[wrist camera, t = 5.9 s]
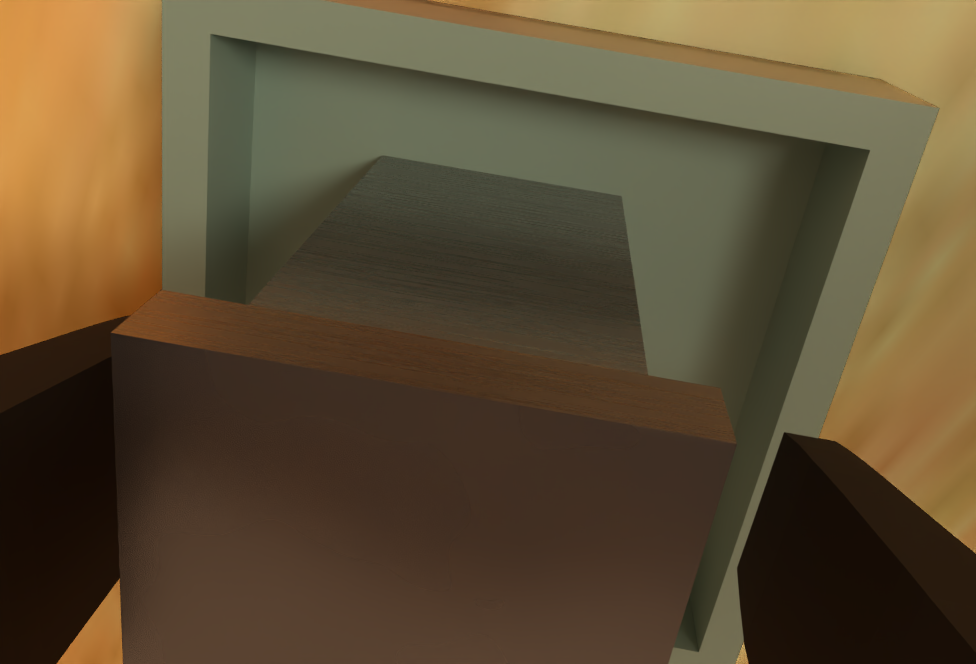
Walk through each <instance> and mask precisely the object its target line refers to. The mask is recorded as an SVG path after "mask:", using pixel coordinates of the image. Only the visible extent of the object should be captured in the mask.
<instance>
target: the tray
mask: <svg viewBox="0 0 976 664" xmlns="http://www.w3.org/2000/svg"><path fill="white" fill-rule="evenodd" d="M938 111H939V108H938V107H936V106H934V105H932V104H930V103H928V102H926V101H924V100H922V99H920V98H918V97H916V96H914V95H912V94H910V93H908V92H906V91H904V90H902V89H900V88H898V87H896V86H893V85H891V84H889V83H887V82H885V81H883V80H881V79H876V78H870V77H864V76H859V75H853V74H847V73H841V72H836V71H830V70H824V69H818V68H813V67H807V66H801V65H795V64H790V63H784V62H778V61H772V60H767V59H761V58H755V57H749V56H744V55H738V54H732V53H727V52H721V51H715V50H709V49H704V48H698V47H692V46H686V45H681V44H675V43H669V42H663V41H658V40H652V39H646V38H640V37H635V36H629V35H623V34H617V33H612V32H606V31H600V30H595V29H589V28H583V27H577V26H572V25H566V24H560V23H554V22H549V21H543V20H537V19H531V18H526V17H520V16H514V15H508V14H503V13H497V12H491V11H486V10H480V9H474V8H468V7H463V6H457V5H451V4H445V3H440V2H434V1H428V0H162V290H166V291H172V292H178V293H183V294H189V295H195V296H200V297H206V298H212V299H217V300H223V301H229V302H235V303H240V304H246V305H248V304H249V303H250V302H251V301H252V300H253V299H254V298H255V297H256V296H257V294H258V293H259V292H260V291H261V290H262V289H263V288H264V287H265V286H266V284H267V283H268V282H269V281H270V280H271V279H272V278H273V277H274V276H275V274H276V273H277V272H278V271H279V270H280V269H281V268H282V267H283V266H284V264H285V263H286V262H287V261H288V260H289V259H290V258H291V257H292V255H293V254H294V253H295V252H296V251H297V250H298V249H299V248H300V247H301V245H302V244H303V243H304V242H305V241H306V240H307V239H308V238H309V237H310V235H311V234H312V233H313V232H314V231H315V230H316V229H317V228H318V227H319V225H320V224H321V223H322V222H323V221H324V220H325V219H326V218H327V217H328V215H329V214H330V213H331V212H332V211H333V210H334V209H335V208H336V207H337V205H338V204H339V203H340V202H341V201H342V200H343V199H344V198H345V197H346V195H347V194H348V193H349V192H350V191H351V190H352V189H353V188H354V186H355V185H356V184H357V183H358V182H359V181H360V180H361V179H362V178H363V176H364V175H365V174H366V173H367V172H368V171H369V170H370V169H371V168H372V166H373V165H374V164H375V163H376V162H377V161H378V160H379V159H380V158H381V156H382V155H384V156H390V157H396V158H402V159H407V160H413V161H419V162H425V163H431V164H437V165H443V166H448V167H454V168H460V169H466V170H472V171H478V172H484V173H490V174H495V175H501V176H507V177H513V178H519V179H525V180H531V181H536V182H542V183H548V184H554V185H560V186H566V187H572V188H578V189H583V190H589V191H595V192H601V193H607V194H613V195H619V196H622V201H623V208H624V215H625V222H626V228H627V235H628V242H629V249H630V255H631V262H632V269H633V276H634V283H635V289H636V296H637V303H638V310H639V316H640V323H641V330H642V337H643V343H644V350H645V357H646V364H647V370H648V375H650V376H655V377H661V378H667V379H672V380H678V381H684V382H689V383H695V384H701V385H706V386H712V387H718V388H720V389H721V392H722V395H723V399H724V402H725V405H726V409H727V412H728V415H729V419H730V422H731V425H732V429H733V432H734V435H735V439H736V442H737V446H736V449H735V452H734V455H733V459H732V462H731V465H730V468H729V471H728V475H727V478H726V481H725V484H724V487H723V491H722V494H721V497H720V500H719V503H718V507H717V510H716V513H715V516H714V519H713V523H712V526H711V529H710V532H709V535H708V539H707V542H706V545H705V548H704V551H703V555H702V558H701V561H700V564H699V567H698V570H697V574H696V577H695V580H694V583H693V586H692V590H691V593H690V596H689V599H688V602H687V606H686V609H685V612H684V615H683V618H682V622H681V625H680V628H679V631H678V634H677V638H676V641H675V644H674V647H673V650H672V654H671V657H670V660H669V663H668V664H735V663H736V661H737V658H738V655H739V652H740V650H741V647H742V644H743V642H744V637H743V629H742V620H741V611H740V600H739V588H738V576H737V566H738V563H739V560H740V558H741V555H742V552H743V549H744V546H745V543H746V540H747V537H748V534H749V532H750V529H751V526H752V523H753V520H754V517H755V514H756V511H757V509H758V506H759V503H760V500H761V497H762V494H763V491H764V488H765V486H766V483H767V480H768V477H769V474H770V471H771V468H772V465H773V462H774V460H775V457H776V454H777V451H778V448H779V445H780V442H781V439H782V437H783V434H784V432H787V433H792V434H798V435H803V436H809V437H814V438H819V435H820V432H821V429H822V427H823V424H824V421H825V419H826V416H827V413H828V410H829V408H830V405H831V402H832V399H833V397H834V394H835V391H836V389H837V386H838V383H839V380H840V378H841V375H842V372H843V370H844V367H845V364H846V361H847V359H848V356H849V353H850V351H851V348H852V345H853V342H854V340H855V337H856V334H857V331H858V329H859V326H860V323H861V321H862V318H863V315H864V312H865V310H866V307H867V304H868V302H869V299H870V296H871V293H872V291H873V288H874V285H875V283H876V280H877V277H878V274H879V272H880V269H881V266H882V263H883V261H884V258H885V255H886V253H887V250H888V247H889V244H890V242H891V239H892V236H893V234H894V231H895V228H896V225H897V223H898V220H899V217H900V215H901V212H902V209H903V206H904V204H905V201H906V198H907V195H908V193H909V190H910V187H911V185H912V182H913V179H914V176H915V174H916V171H917V168H918V166H919V163H920V160H921V157H922V155H923V152H924V149H925V147H926V144H927V141H928V138H929V136H930V133H931V130H932V127H933V125H934V122H935V119H936V117H937V114H938Z"/></svg>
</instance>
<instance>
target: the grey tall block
mask: <svg viewBox="0 0 976 664" xmlns="http://www.w3.org/2000/svg"><path fill="white" fill-rule="evenodd" d="M111 356H112V382H113V409H114V436H115V462H116V489H117V516H118V542H119V569H120V596H121V622H122V649H123V664H668V663H669V660H670V657H671V654H672V650H673V647H674V644H675V641H676V638H677V634H678V631H679V628H680V625H681V622H682V618H683V615H684V612H685V609H686V606H687V602H688V599H689V596H690V593H691V590H692V586H693V583H694V580H695V577H696V574H697V570H698V567H699V564H700V561H701V558H702V555H703V551H704V548H705V545H706V542H707V539H708V535H709V532H710V529H711V526H712V523H713V519H714V516H715V513H716V510H717V507H718V503H719V500H720V497H721V494H722V491H723V487H724V484H725V481H726V478H727V475H728V471H729V468H730V465H731V462H732V459H733V455H734V452H735V449H736V446H737V442H736V439H735V435H734V432H733V429H732V425H731V422H730V419H729V415H728V412H727V409H726V405H725V402H724V399H723V395H722V392H721V389H720V388H718V387H712V386H706V385H701V384H695V383H689V382H684V381H678V380H672V379H667V378H661V377H655V376H650V375H648V370H647V364H646V357H645V350H644V343H643V337H642V330H641V323H640V316H639V310H638V303H637V296H636V289H635V283H634V276H633V269H632V262H631V255H630V249H629V242H628V235H627V228H626V222H625V215H624V208H623V201H622V196H619V195H613V194H607V193H601V192H595V191H589V190H583V189H578V188H572V187H566V186H560V185H554V184H548V183H542V182H536V181H531V180H525V179H519V178H513V177H507V176H501V175H495V174H490V173H484V172H478V171H472V170H466V169H460V168H454V167H448V166H443V165H437V164H431V163H425V162H419V161H413V160H407V159H402V158H396V157H390V156H384V155H382V156H381V158H380V159H379V160H378V161H377V162H376V163H375V164H374V165H373V166H372V168H371V169H370V170H369V171H368V172H367V173H366V174H365V175H364V176H363V178H362V179H361V180H360V181H359V182H358V183H357V184H356V185H355V186H354V188H353V189H352V190H351V191H350V192H349V193H348V194H347V195H346V197H345V198H344V199H343V200H342V201H341V202H340V203H339V204H338V205H337V207H336V208H335V209H334V210H333V211H332V212H331V213H330V214H329V215H328V217H327V218H326V219H325V220H324V221H323V222H322V223H321V224H320V225H319V227H318V228H317V229H316V230H315V231H314V232H313V233H312V234H311V235H310V237H309V238H308V239H307V240H306V241H305V242H304V243H303V244H302V245H301V247H300V248H299V249H298V250H297V251H296V252H295V253H294V254H293V255H292V257H291V258H290V259H289V260H288V261H287V262H286V263H285V264H284V266H283V267H282V268H281V269H280V270H279V271H278V272H277V273H276V274H275V276H274V277H273V278H272V279H271V280H270V281H269V282H268V283H267V284H266V286H265V287H264V288H263V289H262V290H261V291H260V292H259V293H258V294H257V296H256V297H255V298H254V299H253V300H252V301H251V302H250V303H249V304H248V305H246V304H240V303H235V302H229V301H223V300H217V299H212V298H206V297H200V296H195V295H189V294H183V293H178V292H172V291H166V290H160V291H159V292H158V293H157V294H156V295H154V296H153V297H152V298H151V299H150V300H149V301H147V302H146V303H145V304H144V305H143V306H141V307H140V308H139V309H138V310H137V311H136V312H134V313H133V314H132V315H131V316H130V317H128V318H127V319H126V320H125V321H124V322H123V323H121V324H120V325H119V326H118V327H117V328H116V329H114V330H113V331H112V332H111Z"/></svg>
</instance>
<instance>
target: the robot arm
mask: <svg viewBox="0 0 976 664" xmlns="http://www.w3.org/2000/svg"><path fill="white" fill-rule="evenodd" d="M130 316H131V315H130ZM130 316H125V317H121V318H117V319H113V320H110V321H106V322H103V323H99V324H96V325H93V326H89V327H86V328H83V329H80V330H77V331H74V332H70V333H67V334H64V335H61V336H58V337H55V338H52V339H49V340H46V341H43V342H40V343H37V344H34V345H30V346H27V347H24V348H21V349H18V350H15V351H12V352H9V353H6V354H3V355H0V664H56V663H57V662H58V661H59V659H60V658H61V657H62V655H63V654H64V653H65V651H66V650H67V649H68V647H69V646H70V644H71V643H72V642H73V640H74V639H75V638H76V636H77V635H78V634H79V632H80V631H81V630H82V628H83V627H84V625H85V624H86V623H87V621H88V620H89V619H90V617H91V616H92V615H93V613H94V612H95V611H96V609H97V608H98V607H99V605H100V604H101V602H102V601H103V600H104V598H105V597H106V596H107V594H108V593H109V592H110V590H111V589H112V588H113V586H114V585H115V584H116V582H117V581H118V579H119V578H120V569H119V542H118V516H117V489H116V462H115V436H114V409H113V382H112V356H111V332H112V331H113V330H114V329H116V328H117V327H118V326H119V325H120V324H121V323H123V322H124V321H125V320H126V319H127V318H128V317H130ZM737 576H738V588H739V600H740V611H741V620H742V629H743V637H744V645H745V649H746V653H747V658H748V662H749V664H976V554H975V553H974V552H973V551H972V550H970V549H969V548H968V547H967V546H966V545H964V544H963V543H962V542H961V541H959V540H958V539H957V538H956V537H954V536H953V535H952V534H951V533H950V532H948V531H947V530H946V529H945V528H944V527H942V526H941V525H940V524H939V523H938V522H936V521H935V520H934V519H933V518H932V517H930V516H929V515H928V514H927V513H926V512H924V511H923V510H922V509H921V508H920V507H918V506H917V505H916V504H915V503H914V502H912V501H911V500H910V499H909V498H908V497H906V496H905V495H904V494H903V493H902V492H901V491H899V490H898V489H897V488H896V487H895V486H893V485H892V484H891V483H890V482H889V481H887V480H886V479H885V478H884V477H883V476H881V475H880V474H879V473H878V472H876V471H875V470H874V469H873V468H871V467H870V466H869V465H868V464H867V463H865V462H864V461H863V460H861V459H860V458H859V457H858V456H856V455H855V454H854V453H852V452H851V451H849V450H848V449H847V448H845V447H843V446H842V445H840V444H839V443H837V442H836V441H830V440H825V439H820V438H814V437H809V436H803V435H798V434H792V433H787V432H784V434H783V437H782V439H781V442H780V445H779V448H778V451H777V454H776V457H775V460H774V462H773V465H772V468H771V471H770V474H769V477H768V480H767V483H766V486H765V488H764V491H763V494H762V497H761V500H760V503H759V506H758V509H757V511H756V514H755V517H754V520H753V523H752V526H751V529H750V532H749V534H748V537H747V540H746V543H745V546H744V549H743V552H742V555H741V558H740V560H739V563H738V566H737Z"/></svg>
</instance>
